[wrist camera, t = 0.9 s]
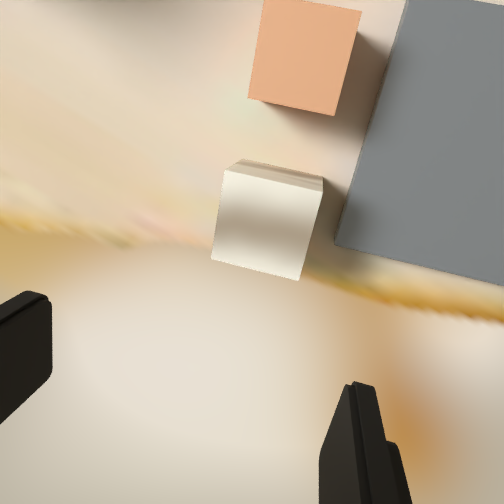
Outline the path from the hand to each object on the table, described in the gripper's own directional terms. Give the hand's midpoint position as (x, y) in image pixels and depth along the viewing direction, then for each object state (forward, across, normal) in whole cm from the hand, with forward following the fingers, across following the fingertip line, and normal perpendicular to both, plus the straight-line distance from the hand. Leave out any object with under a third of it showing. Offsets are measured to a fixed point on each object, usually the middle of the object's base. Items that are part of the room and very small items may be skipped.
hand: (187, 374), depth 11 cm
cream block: (+21, 0, -1) cm, 21 cm away
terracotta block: (+20, 0, -11) cm, 23 cm away
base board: (+20, -14, -8) cm, 26 cm away
